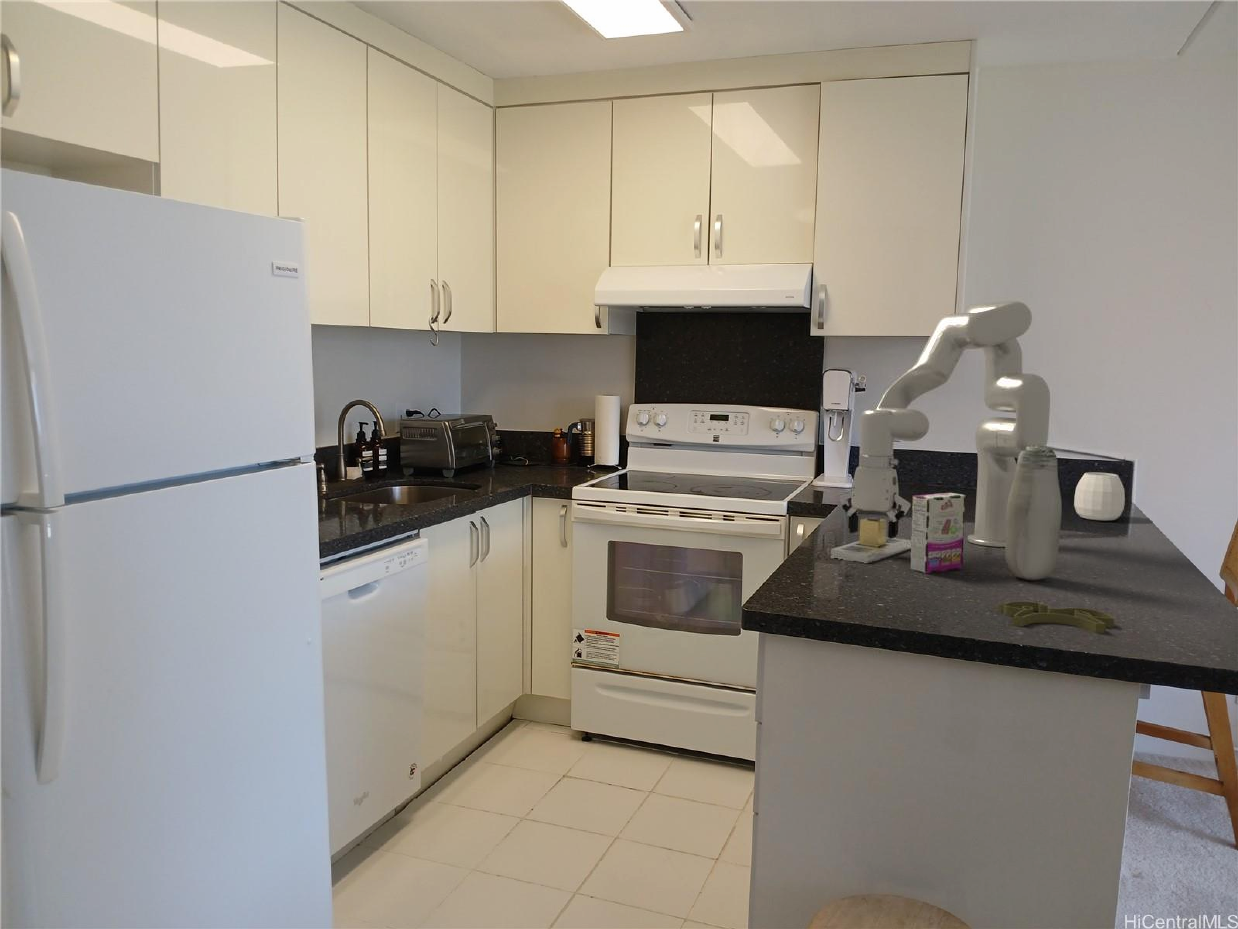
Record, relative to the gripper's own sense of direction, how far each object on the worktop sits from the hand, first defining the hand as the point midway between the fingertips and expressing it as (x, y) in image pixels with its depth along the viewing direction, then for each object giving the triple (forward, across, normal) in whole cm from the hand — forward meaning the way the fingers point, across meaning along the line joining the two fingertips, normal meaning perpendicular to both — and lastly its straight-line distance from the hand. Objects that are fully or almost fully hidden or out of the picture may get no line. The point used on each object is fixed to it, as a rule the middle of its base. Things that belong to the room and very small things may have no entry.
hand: (872, 535), depth 215 cm
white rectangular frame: (+4, 0, 0) cm, 4 cm away
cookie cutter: (+5, -49, +33) cm, 59 cm away
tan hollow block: (+4, 0, 0) cm, 4 cm away
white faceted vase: (+4, -27, -95) cm, 99 cm away
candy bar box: (+4, -18, +7) cm, 20 cm away
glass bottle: (+4, -36, +2) cm, 36 cm away
